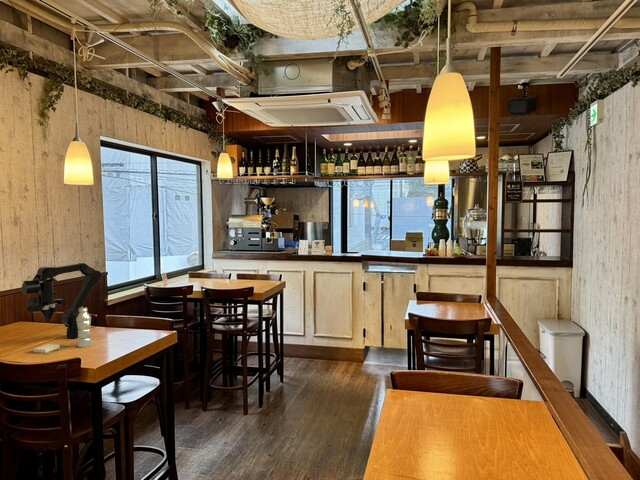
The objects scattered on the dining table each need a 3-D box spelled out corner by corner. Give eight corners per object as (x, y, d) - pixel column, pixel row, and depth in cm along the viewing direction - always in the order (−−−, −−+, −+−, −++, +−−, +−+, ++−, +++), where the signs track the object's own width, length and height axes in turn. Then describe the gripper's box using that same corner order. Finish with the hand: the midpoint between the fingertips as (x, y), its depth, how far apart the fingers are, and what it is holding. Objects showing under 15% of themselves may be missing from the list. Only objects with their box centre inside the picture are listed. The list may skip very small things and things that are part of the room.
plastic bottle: (81, 345, 217) (78, 306, 216) (94, 345, 218) (92, 306, 217) (74, 349, 211) (72, 309, 210) (89, 349, 212) (87, 308, 211)
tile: (48, 344, 214) (33, 348, 206) (59, 344, 212) (45, 349, 205) (48, 347, 214) (33, 352, 206) (59, 348, 212) (45, 353, 205)
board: (49, 345, 219) (49, 344, 219) (71, 347, 215) (71, 346, 215) (24, 354, 205) (24, 353, 205) (47, 356, 202) (47, 354, 202)
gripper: (49, 288, 231) (51, 316, 232) (17, 294, 213) (19, 325, 214) (66, 288, 228) (67, 317, 229) (35, 294, 210) (37, 326, 211)
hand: (48, 321), depth 221 cm, fingers closed
